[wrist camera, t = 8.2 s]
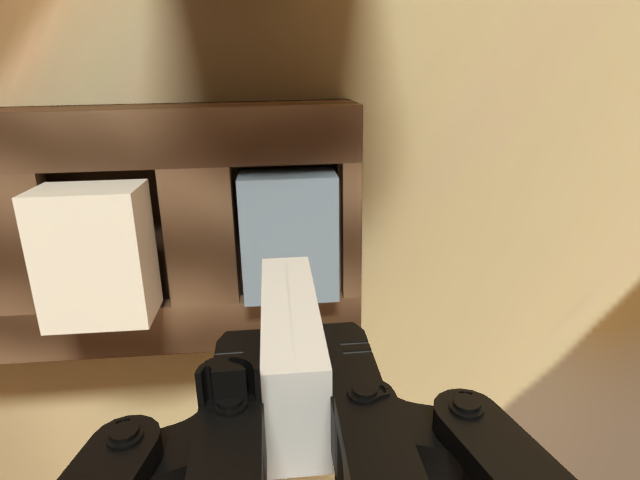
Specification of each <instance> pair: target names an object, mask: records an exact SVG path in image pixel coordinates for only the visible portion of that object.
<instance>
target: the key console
mask: <svg viewBox="0 0 640 480" xmlns="http://www.w3.org/2000/svg"><path fill="white" fill-rule="evenodd" d="M362 150H363V105H362V104H359V103H357V102H354V101H351V100H349V99H327V100H284V101H240V102H196V103H153V104H109V105H65V106H21V107H0V364H14V363H31V362H48V361H65V360H82V359H98V358H115V357H132V356H149V355H166V354H182V353H199V352H215V347H216V341H217V340H218V339H219V338H220V337H221V336H222V335H223V334H224V333H225V332H226V331H237V330H253V329H261V306H253V307H245V306H244V292H243V278H242V264H241V250H240V236H239V221H238V207H237V193H236V179H237V176H238V173H239V170H240V169H247V168H278V167H308V166H332V167H333V169H334V171H335V172H336V174H337V176H338V177H339V287H340V302H329V303H318V306H319V311H320V316H321V320H322V324H327V323H343V322H354V323H356V324H357V325H358V326H359V327H361V266H362ZM125 179H148V182H149V190H150V198H151V206H152V214H153V222H154V230H155V238H156V246H157V254H158V262H159V270H160V278H161V286H162V294H163V302H162V304H161V306H160V308H159V310H158V312H157V314H156V316H155V318H154V320H153V322H152V325H151V327H150V329H149V330H133V331H115V332H97V333H80V334H62V335H44V336H41V334H40V329H39V324H38V319H37V315H36V310H35V305H34V301H33V296H32V291H31V287H30V282H29V277H28V273H27V268H26V263H25V258H24V254H23V249H22V244H21V240H20V235H19V230H18V226H17V221H16V216H15V211H14V207H13V202H12V198H13V197H15V196H17V195H19V194H21V193H23V192H25V191H27V190H29V189H31V188H34V187H36V186H38V185H40V184H42V183H44V182H66V181H95V180H125Z"/></svg>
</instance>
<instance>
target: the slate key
mask: <svg viewBox="0 0 640 480" xmlns="http://www.w3.org/2000/svg"><path fill="white" fill-rule="evenodd" d="M236 193H237V207H238V221H239V236H240V250H241V264H242V278H243V292H244V306H245V307H253V306H261V285H262V259H269V258H289V257H308V259H309V264H310V269H311V273H312V278H313V283H314V287H315V292H316V297H317V302H318V303H329V302H340V287H339V177H338V176H337V174H336V172H335V171H334V169H333V167H332V166H308V167H278V168H247V169H240V170H239V173H238V176H237V179H236Z"/></svg>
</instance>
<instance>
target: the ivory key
mask: <svg viewBox="0 0 640 480" xmlns="http://www.w3.org/2000/svg"><path fill="white" fill-rule="evenodd" d="M12 202H13V207H14V211H15V216H16V221H17V226H18V230H19V235H20V240H21V244H22V249H23V254H24V258H25V263H26V268H27V273H28V277H29V282H30V287H31V291H32V296H33V301H34V305H35V310H36V315H37V319H38V324H39V329H40V334H41V336H44V335H62V334H80V333H97V332H115V331H133V330H149V329H150V327H151V325H152V322H153V320H154V318H155V316H156V314H157V312H158V310H159V308H160V306H161V304H162V302H163V294H162V286H161V278H160V270H159V262H158V254H157V246H156V238H155V230H154V222H153V214H152V206H151V198H150V190H149V182H148V179H125V180H95V181H66V182H44V183H42V184H40V185H38V186H36V187H34V188H31V189H29V190H27V191H25V192H23V193H21V194H19V195H17V196H15V197H13V198H12Z"/></svg>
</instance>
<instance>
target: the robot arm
mask: <svg viewBox="0 0 640 480" xmlns="http://www.w3.org/2000/svg"><path fill="white" fill-rule="evenodd" d="M195 382H196V391H197V400H198V412H197V413H196V414H194V415H193V416H192V417H190V418H188V419H186V420H184V421H182V422H179V423H177V424H174V425H170V426H167V427H164V428H160V427H159V423H158V422H157V421H155V420H154V419H153V418H152V417H148V416H144V415H128V416H125V417H121V418H118V419H114V420H113V421H111V422H109V423H107V424H105V425H103V426H102V427H101V428H100V429H99V430H97V431H96V432H95V433H94V434H93V435H92V436H91V438H90V439H89V440H88V441H87V443H86V444H85V445H84V446H83V448H82V449H81V450H80V451H79V453H78V454H77V455H76V456H75V458H74V459H73V460H72V461H71V463H70V464H69V465H68V466H67V468H66V469H65V470H64V471H63V473H62V474H61V475H60V476H59V478H58V479H57V480H275V479H286V478H297V477H309V476H320V475H331V474H333V465H334V471H335V480H577V479H576V478H575V477H574V476H573V475H572V474H571V473H570V472H569V471H567V469H566V468H564V467H563V466H562V465H561V464H560V463H559V462H558V461H557V460H556V459H555V458H554V457H553V456H552V455H551V454H550V453H548V452H547V451H546V450H545V449H544V448H543V447H542V446H541V445H540V444H539V443H538V442H537V441H535V439H533V438H532V437H531V436H530V435H529V434H528V433H527V432H526V431H525V430H524V429H523V428H522V427H521V426H519V425H518V424H517V423H516V422H515V421H514V420H513V419H512V418H511V417H510V416H509V415H508V414H507V413H506V412H505V411H503V410H502V409H501V408H500V407H499V406H498V405H497V404H496V403H495V402H494V401H493V400H491V399H490V398H488V397H487V396H485V395H484V394H481V393H478V392H476V391H473V390H467V389H451V390H447V391H444V392H442V393H440V394H439V395H438V396H437V397H436V398H435V399H434V406H431V405H424V404H417V403H412V402H408V401H405V400H402V399H400V398H398V397H397V396H396V393H395V391H394V390H393V389H392V387H391V386H390V385H389V384H387V383H385V382H384V381H383V380H382V378H381V375H380V372H379V369H378V367H377V364H376V361H375V358H374V356H373V353H372V352H371V347H370V345H369V343H368V339H367V337H366V334H365V331H364V330H363V329H362V328H361V327H359V326H358V325H357V324H356V323H354V322H343V323H327V324H322V320H321V316H320V311H319V306H318V302H317V297H316V292H315V287H314V283H313V278H312V273H311V269H310V264H309V259H308V257H289V258H269V259H262V285H261V329H253V330H237V331H226V332H225V333H224V334H223V335H222V336H221V337H220V338H219V339H218V340H217V341H216V347H215V355H214V358H211V359H209V360H207V361H205V362H204V363H203V364H201V365H200V366H199V367H198V368H197V370H196V372H195Z"/></svg>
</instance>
